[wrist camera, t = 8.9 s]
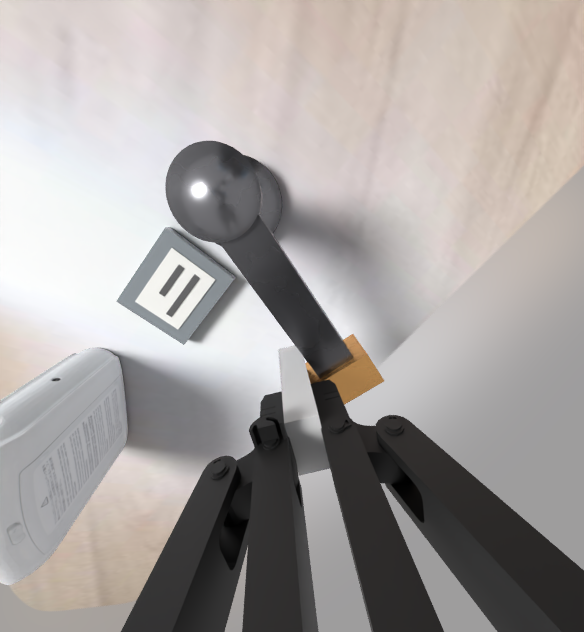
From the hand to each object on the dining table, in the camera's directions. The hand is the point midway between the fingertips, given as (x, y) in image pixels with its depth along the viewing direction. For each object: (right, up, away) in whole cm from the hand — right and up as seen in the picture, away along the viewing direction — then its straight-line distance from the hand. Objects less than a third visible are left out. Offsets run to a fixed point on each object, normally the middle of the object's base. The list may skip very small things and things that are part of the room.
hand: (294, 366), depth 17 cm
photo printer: (-17, -4, +8) cm, 19 cm away
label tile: (-9, +5, +5) cm, 12 cm away
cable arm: (-1, +5, -1) cm, 5 cm away
